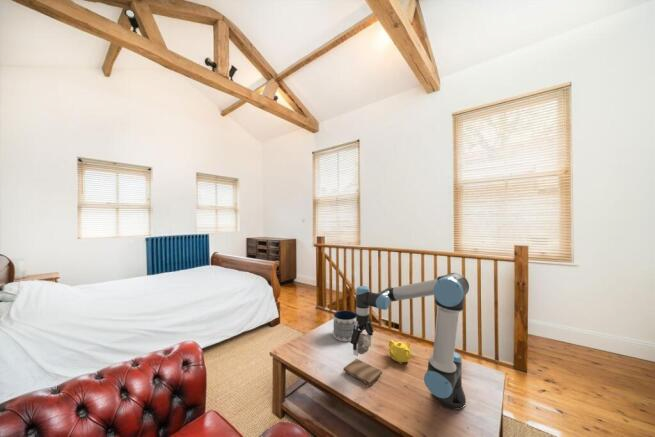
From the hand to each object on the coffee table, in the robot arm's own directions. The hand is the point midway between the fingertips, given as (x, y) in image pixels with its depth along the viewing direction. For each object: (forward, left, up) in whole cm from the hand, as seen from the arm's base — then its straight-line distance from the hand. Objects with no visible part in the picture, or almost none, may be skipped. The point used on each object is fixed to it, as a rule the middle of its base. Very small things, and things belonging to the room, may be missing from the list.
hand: (362, 350), depth 138 cm
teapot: (-9, -29, -14) cm, 34 cm away
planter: (+36, -29, -14) cm, 48 cm away
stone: (0, 0, -1) cm, 1 cm away
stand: (0, 0, -14) cm, 14 cm away
